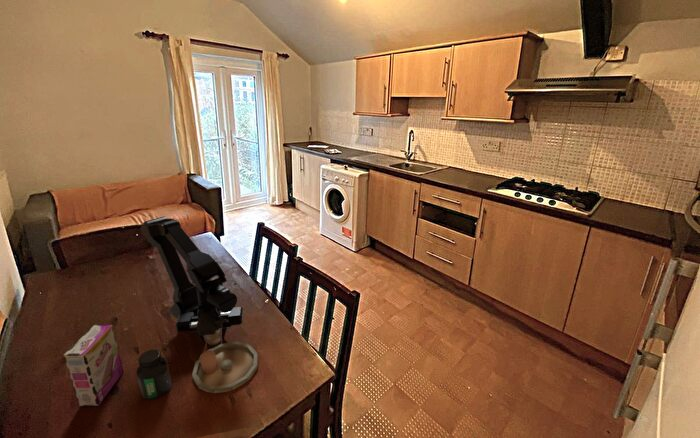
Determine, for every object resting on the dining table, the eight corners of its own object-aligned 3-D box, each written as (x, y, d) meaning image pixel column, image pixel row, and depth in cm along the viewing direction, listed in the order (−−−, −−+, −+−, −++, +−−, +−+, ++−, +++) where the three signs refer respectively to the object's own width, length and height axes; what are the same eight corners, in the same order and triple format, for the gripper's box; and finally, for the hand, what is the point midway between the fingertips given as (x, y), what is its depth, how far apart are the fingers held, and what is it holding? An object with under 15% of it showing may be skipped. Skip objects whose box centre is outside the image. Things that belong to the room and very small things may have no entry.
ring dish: (187, 400, 83) (186, 394, 83) (200, 352, 99) (199, 346, 98) (257, 389, 88) (256, 383, 87) (258, 344, 103) (258, 338, 103)
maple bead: (206, 348, 101) (204, 335, 99) (208, 339, 104) (206, 327, 103) (220, 346, 102) (218, 333, 100) (221, 338, 105) (220, 325, 104)
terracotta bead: (200, 376, 90) (198, 362, 88) (203, 365, 93) (201, 351, 92) (216, 373, 91) (214, 359, 89) (218, 363, 94) (216, 349, 92)
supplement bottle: (157, 406, 82) (148, 369, 78) (136, 398, 84) (126, 362, 79) (178, 384, 88) (171, 349, 84) (157, 378, 90) (150, 343, 86)
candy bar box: (100, 406, 81) (84, 355, 75) (79, 407, 81) (61, 355, 75) (125, 371, 92) (113, 323, 86) (106, 371, 91) (92, 324, 85)
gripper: (166, 319, 88) (175, 364, 93) (238, 311, 92) (243, 354, 98) (177, 296, 98) (184, 337, 103) (241, 290, 102) (245, 330, 108)
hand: (214, 340), depth 103 cm, fingers open, 5 cm apart
